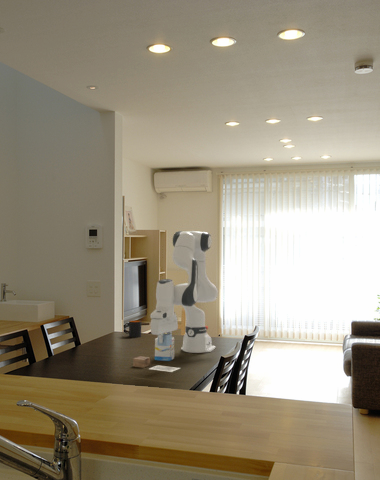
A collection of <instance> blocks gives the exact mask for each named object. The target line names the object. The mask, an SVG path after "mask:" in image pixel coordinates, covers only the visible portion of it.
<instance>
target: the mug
mask: <svg viewBox="0 0 380 480" xmlns="http://www.w3.org/2000/svg"><path fill="white" fill-rule="evenodd" d="M127 325H128V332H127V331H126V326H127ZM123 327H124V328H123V329H124V333H125V334H126V335H127V334H128V337H129V338H141V337H142V320H135V319H134V320H129V321H128V322H126V323H125V324H124V326H123Z"/></svg>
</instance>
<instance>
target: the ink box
mask: <svg viewBox="0 0 380 480" xmlns="http://www.w3.org/2000/svg"><path fill="white" fill-rule="evenodd" d="M174 359H175V337H174V336H172V345H169V346H158V337H156V338H154V361H161V362H162V361H163V362H170V361H172V360H174Z"/></svg>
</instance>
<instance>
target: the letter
mask: <svg viewBox="0 0 380 480" xmlns="http://www.w3.org/2000/svg"><path fill="white" fill-rule="evenodd" d="M180 369H181V367H173V366H166V365H159V364H158V365H155V366H152V367H149V368H148V370H153V371H160V372H169V373H173V372H176V371H178V370H180Z"/></svg>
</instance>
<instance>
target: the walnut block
mask: <svg viewBox="0 0 380 480" xmlns="http://www.w3.org/2000/svg"><path fill="white" fill-rule="evenodd" d="M132 362H133V364H132V366H133V367H136V368H146V367H149V366H151V357H149V356H142V355H141V356H140V355H139V356H136V357H134V358H133V361H132Z"/></svg>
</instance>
